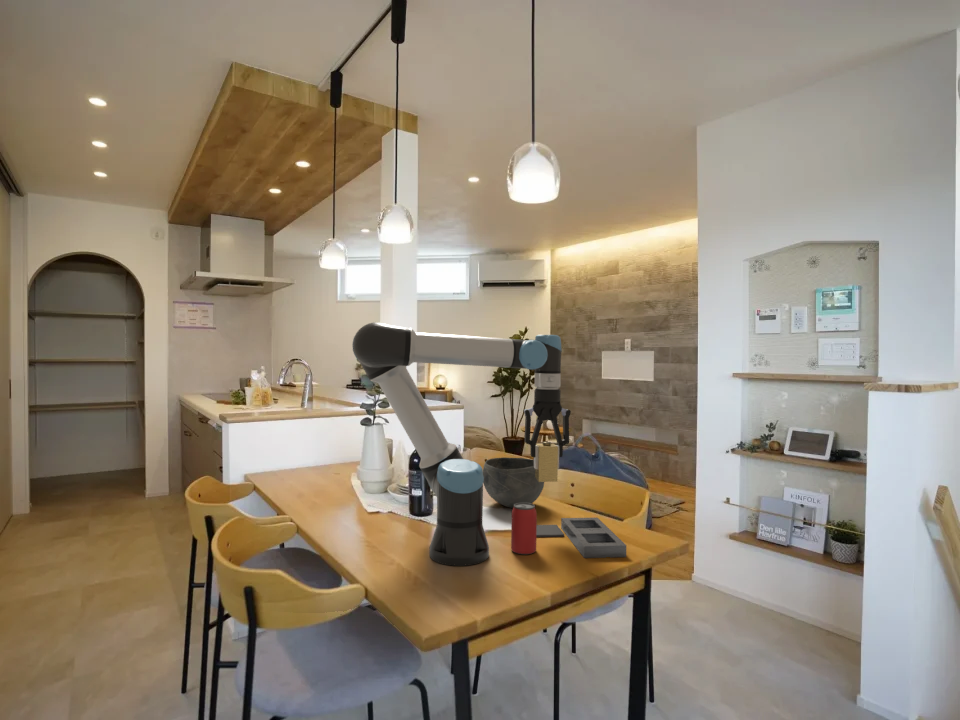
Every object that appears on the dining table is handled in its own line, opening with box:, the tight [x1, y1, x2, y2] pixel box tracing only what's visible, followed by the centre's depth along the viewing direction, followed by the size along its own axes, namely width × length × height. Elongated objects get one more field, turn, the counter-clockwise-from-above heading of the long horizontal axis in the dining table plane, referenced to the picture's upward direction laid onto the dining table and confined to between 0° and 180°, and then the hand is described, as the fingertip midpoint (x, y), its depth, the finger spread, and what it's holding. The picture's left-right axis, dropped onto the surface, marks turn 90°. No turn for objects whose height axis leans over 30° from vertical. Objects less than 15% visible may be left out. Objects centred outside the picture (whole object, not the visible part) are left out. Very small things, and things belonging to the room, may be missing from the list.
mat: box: [536, 524, 565, 538], centre depth 161 cm, size 9×9×1 cm
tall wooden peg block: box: [535, 441, 559, 483], centre depth 161 cm, size 5×5×11 cm
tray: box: [560, 517, 627, 559], centre depth 153 cm, size 11×24×3 cm, turn 6°
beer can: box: [510, 503, 538, 556], centre depth 145 cm, size 7×7×12 cm
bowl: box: [482, 456, 545, 509], centre depth 188 cm, size 21×21×15 cm
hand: (546, 468), depth 161 cm, fingers closed on tall wooden peg block, 5 cm apart
